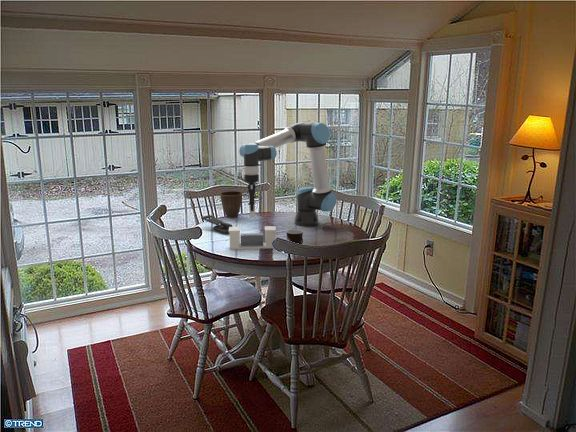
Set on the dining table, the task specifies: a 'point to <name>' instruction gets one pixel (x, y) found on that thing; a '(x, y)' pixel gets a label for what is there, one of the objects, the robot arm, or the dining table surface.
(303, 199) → the robot arm
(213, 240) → the dining table surface
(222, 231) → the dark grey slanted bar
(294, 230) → the coffee mug
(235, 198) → the plant pot
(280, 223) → the dining table surface
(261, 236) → the grey rectangular block
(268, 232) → the white u-shaped cradle
